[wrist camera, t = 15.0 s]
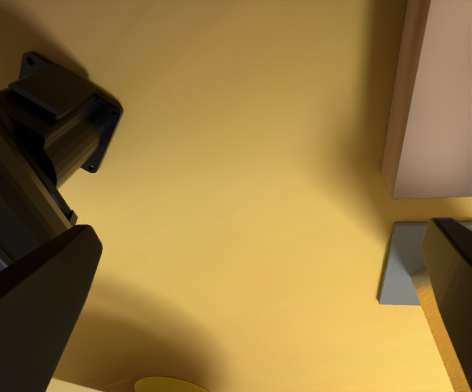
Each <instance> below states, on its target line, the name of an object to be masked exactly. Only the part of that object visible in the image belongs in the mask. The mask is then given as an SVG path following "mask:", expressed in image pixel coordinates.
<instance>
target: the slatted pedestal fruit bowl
mask: <svg viewBox="0 0 472 392" xmlns="http://www.w3.org/2000/svg"><path fill="white" fill-rule="evenodd" d="M134 390H135V392H209V391H207V390H206V389H204V388H202V387H200V386H198V385H196V384H193V383H190V382H187V381H184V380H180V379H176V378H170V377H160V376H155V377H145V378H142V379H140V380H138V381H137V382H136V383H135V385H134Z"/></svg>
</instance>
